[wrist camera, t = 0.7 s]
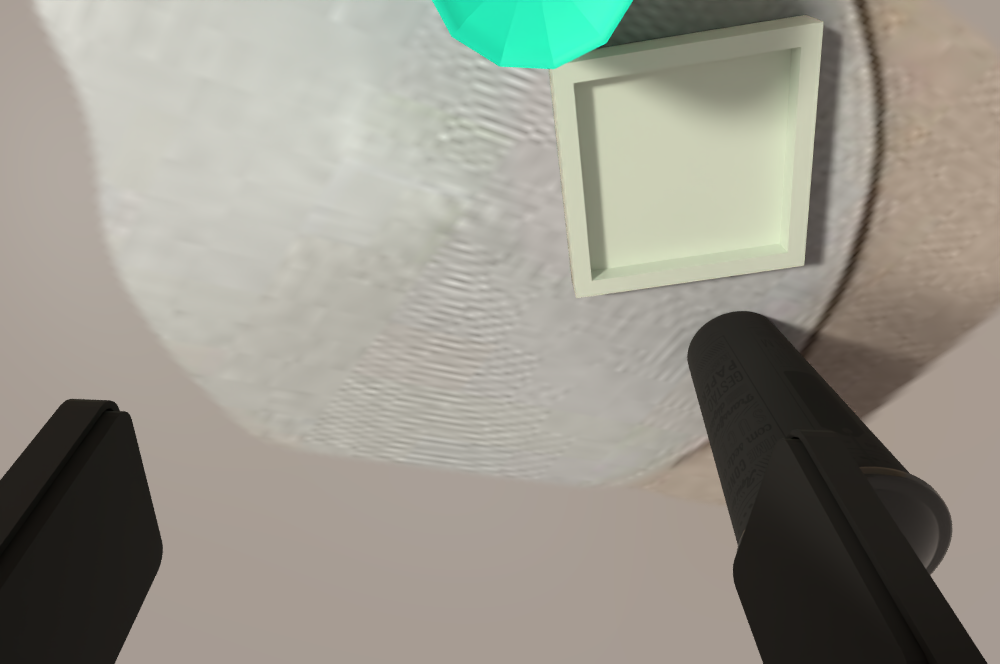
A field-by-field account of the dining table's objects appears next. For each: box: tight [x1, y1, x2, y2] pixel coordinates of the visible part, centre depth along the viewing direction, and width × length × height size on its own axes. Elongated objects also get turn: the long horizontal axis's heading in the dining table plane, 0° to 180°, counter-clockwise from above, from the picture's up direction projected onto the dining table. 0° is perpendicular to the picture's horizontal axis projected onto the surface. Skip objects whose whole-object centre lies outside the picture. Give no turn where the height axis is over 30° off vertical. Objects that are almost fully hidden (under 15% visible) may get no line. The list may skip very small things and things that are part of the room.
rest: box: [549, 15, 824, 298], centre depth 32 cm, size 11×11×2 cm
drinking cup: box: [687, 311, 952, 575], centre depth 30 cm, size 8×8×20 cm
